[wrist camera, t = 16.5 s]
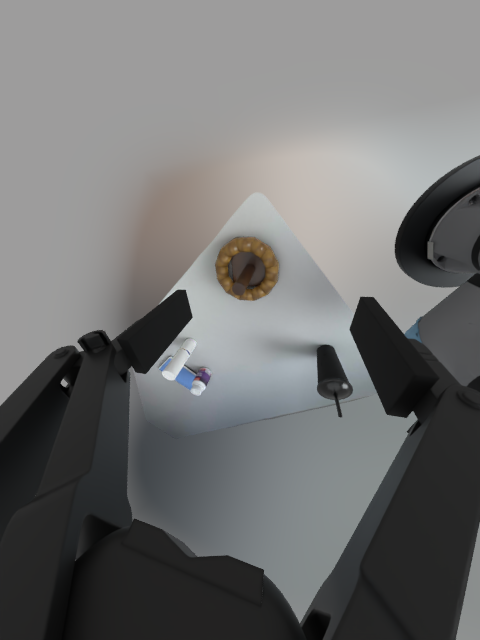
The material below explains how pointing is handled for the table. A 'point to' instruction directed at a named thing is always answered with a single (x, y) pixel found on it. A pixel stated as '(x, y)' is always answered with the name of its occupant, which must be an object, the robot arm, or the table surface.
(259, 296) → the ring
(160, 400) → the table surface
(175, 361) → the tube
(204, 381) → the pill bottle
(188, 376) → the tablet
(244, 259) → the post
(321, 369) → the drinking cup
